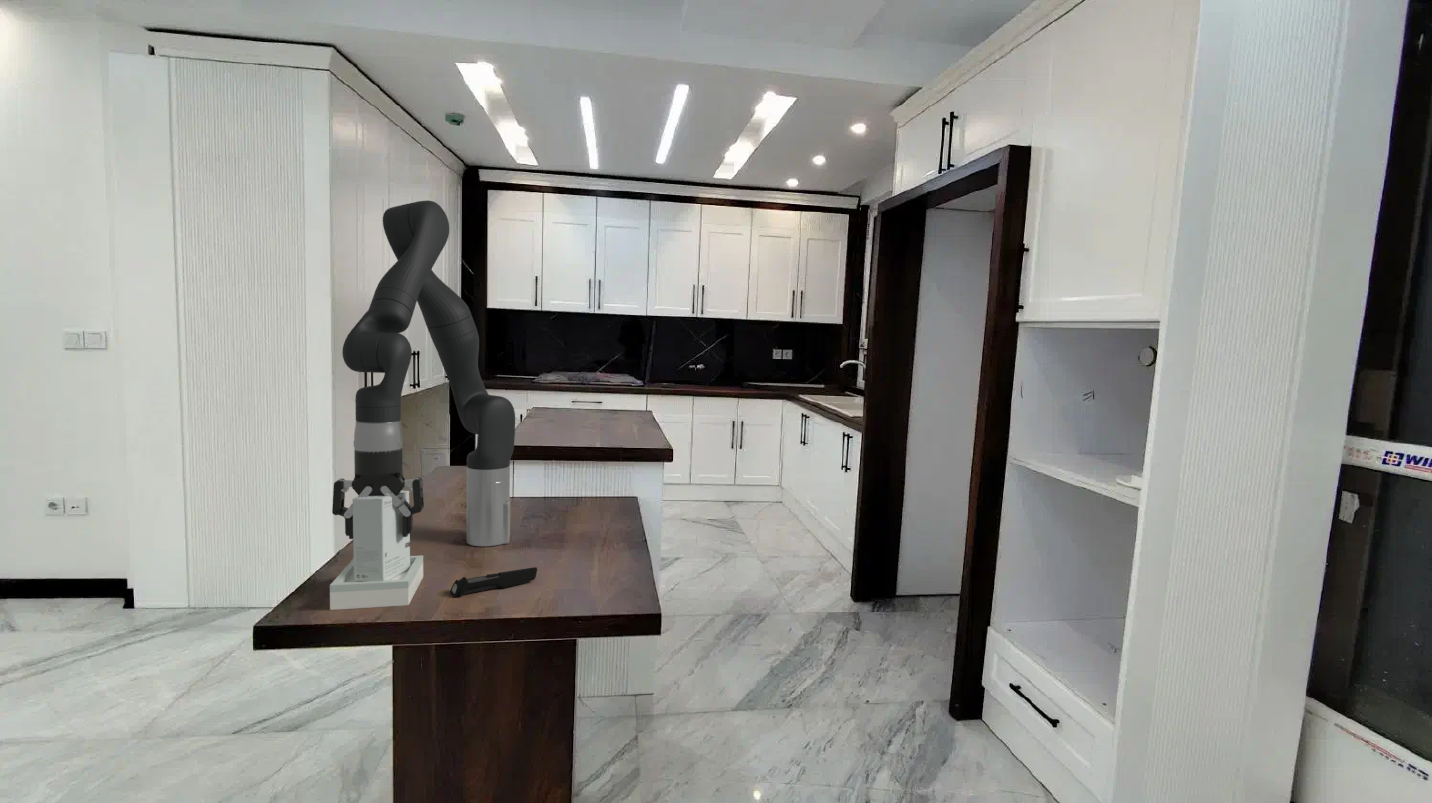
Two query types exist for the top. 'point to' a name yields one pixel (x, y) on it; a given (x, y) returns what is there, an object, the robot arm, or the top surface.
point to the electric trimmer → (492, 581)
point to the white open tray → (375, 588)
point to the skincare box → (379, 538)
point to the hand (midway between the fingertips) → (379, 536)
